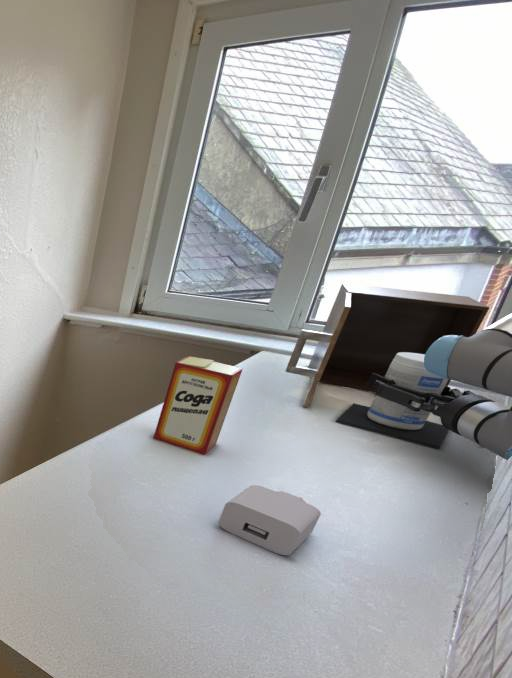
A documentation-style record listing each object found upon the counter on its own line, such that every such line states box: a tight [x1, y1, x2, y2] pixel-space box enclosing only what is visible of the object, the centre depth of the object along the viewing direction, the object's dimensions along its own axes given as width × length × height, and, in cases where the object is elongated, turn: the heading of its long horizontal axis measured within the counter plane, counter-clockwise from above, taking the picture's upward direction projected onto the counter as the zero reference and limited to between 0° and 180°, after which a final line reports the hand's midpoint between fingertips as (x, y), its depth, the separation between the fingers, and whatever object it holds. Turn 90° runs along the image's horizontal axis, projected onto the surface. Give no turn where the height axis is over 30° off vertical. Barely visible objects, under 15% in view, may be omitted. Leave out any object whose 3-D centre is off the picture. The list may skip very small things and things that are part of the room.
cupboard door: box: [285, 293, 351, 408], centre depth 134 cm, size 7×26×23 cm, turn 141°
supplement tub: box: [367, 352, 448, 430], centre depth 117 cm, size 10×10×15 cm
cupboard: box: [308, 283, 491, 394], centre depth 142 cm, size 18×26×24 cm
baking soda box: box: [152, 355, 244, 456], centre depth 104 cm, size 10×6×16 cm
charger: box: [218, 484, 321, 556], centre depth 80 cm, size 5×9×15 cm
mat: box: [335, 403, 449, 450], centre depth 120 cm, size 17×17×1 cm
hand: (396, 381), depth 120 cm, fingers closed on supplement tub, 9 cm apart
